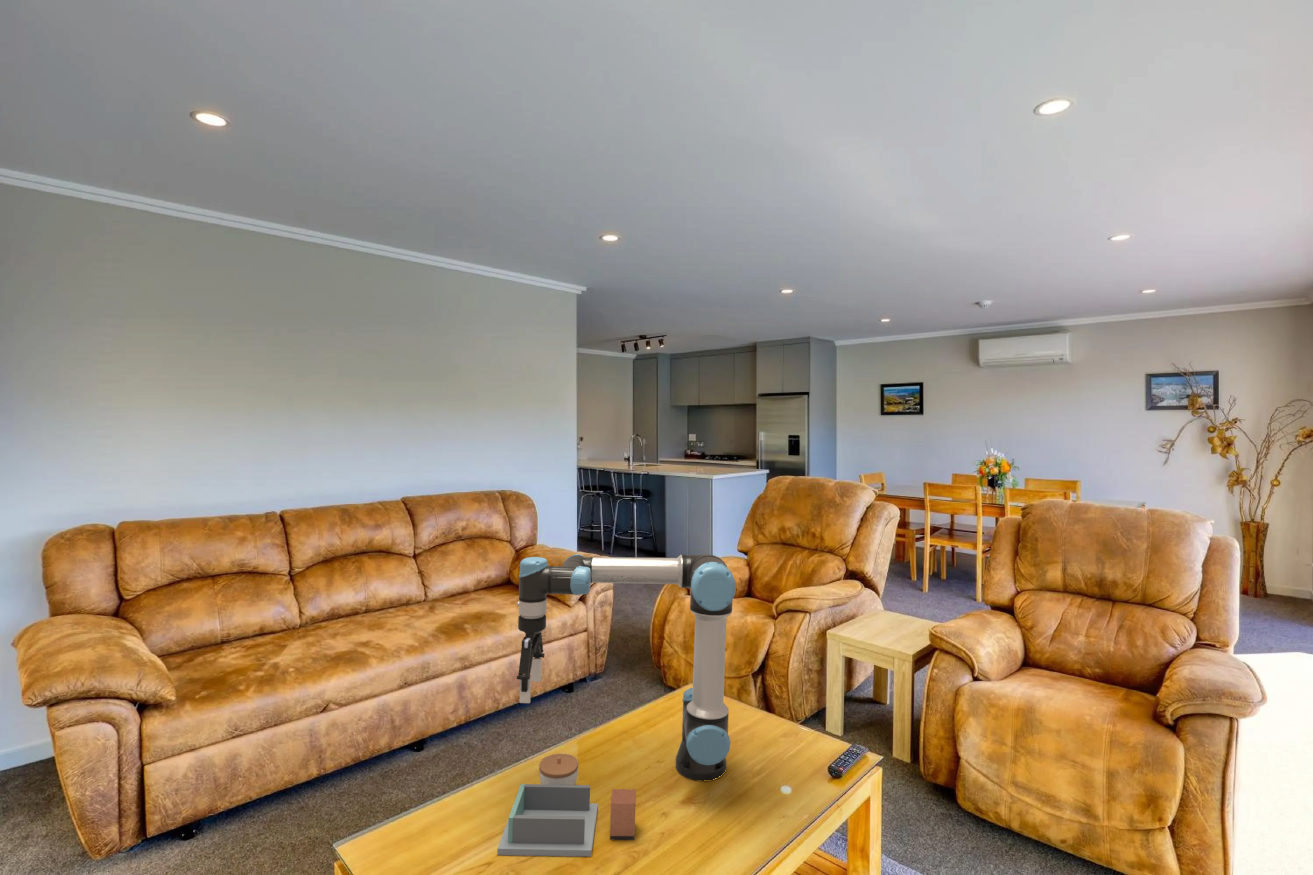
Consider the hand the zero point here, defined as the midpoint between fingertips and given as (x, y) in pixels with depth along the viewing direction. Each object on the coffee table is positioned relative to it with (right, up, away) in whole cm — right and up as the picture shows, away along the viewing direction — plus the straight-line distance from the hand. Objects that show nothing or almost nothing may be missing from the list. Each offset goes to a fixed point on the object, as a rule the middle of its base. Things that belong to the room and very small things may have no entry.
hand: (530, 691), depth 168 cm
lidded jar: (+7, -28, +1) cm, 29 cm away
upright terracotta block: (+26, -29, -16) cm, 42 cm away
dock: (+8, -28, -16) cm, 33 cm away
